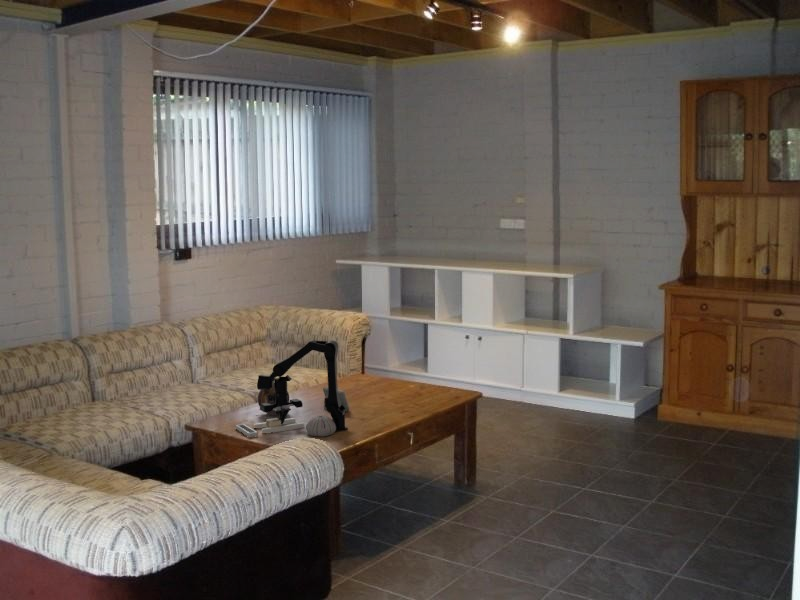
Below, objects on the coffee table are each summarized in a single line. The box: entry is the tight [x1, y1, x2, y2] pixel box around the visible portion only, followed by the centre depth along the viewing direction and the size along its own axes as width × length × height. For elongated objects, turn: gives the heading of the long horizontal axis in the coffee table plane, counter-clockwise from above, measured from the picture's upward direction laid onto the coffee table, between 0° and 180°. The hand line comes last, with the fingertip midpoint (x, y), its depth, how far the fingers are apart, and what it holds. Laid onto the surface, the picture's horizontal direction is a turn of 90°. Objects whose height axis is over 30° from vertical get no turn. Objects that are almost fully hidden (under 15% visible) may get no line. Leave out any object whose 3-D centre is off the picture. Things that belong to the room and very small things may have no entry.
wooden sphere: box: [257, 387, 290, 416], centre depth 430 cm, size 15×15×15 cm
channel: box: [252, 417, 305, 434], centre depth 407 cm, size 11×20×2 cm, turn 121°
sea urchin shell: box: [305, 415, 337, 438], centre depth 397 cm, size 13×14×8 cm
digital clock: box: [322, 385, 350, 412], centre depth 439 cm, size 16×9×11 cm, turn 28°
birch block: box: [265, 417, 282, 428], centre depth 405 cm, size 5×5×4 cm
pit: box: [235, 423, 259, 438], centre depth 399 cm, size 16×4×2 cm, turn 31°
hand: (281, 423), depth 407 cm, fingers closed
